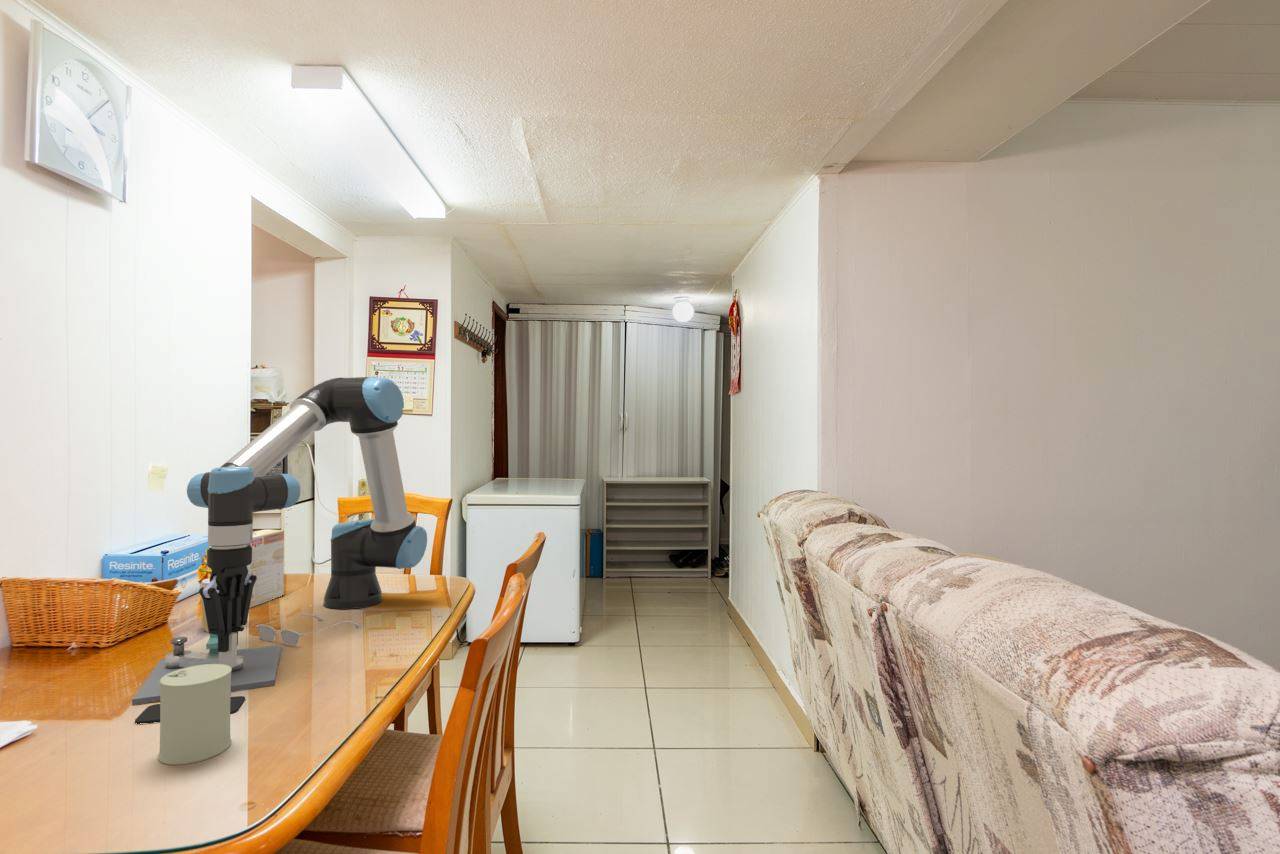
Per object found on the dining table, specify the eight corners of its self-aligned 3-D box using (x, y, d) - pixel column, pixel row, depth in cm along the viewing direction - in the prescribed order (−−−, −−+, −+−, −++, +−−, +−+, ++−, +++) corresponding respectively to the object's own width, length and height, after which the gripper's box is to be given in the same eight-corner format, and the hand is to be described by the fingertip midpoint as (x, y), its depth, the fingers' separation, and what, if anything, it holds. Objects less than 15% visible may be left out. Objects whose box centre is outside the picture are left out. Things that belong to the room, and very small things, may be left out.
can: (182, 737, 105) (183, 661, 105) (243, 735, 105) (243, 659, 105) (143, 766, 95) (144, 683, 95) (210, 764, 96) (211, 681, 96)
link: (159, 666, 132) (160, 641, 132) (178, 659, 136) (179, 635, 136) (232, 672, 129) (232, 647, 129) (249, 665, 133) (249, 640, 133)
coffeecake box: (262, 595, 195) (263, 529, 195) (284, 596, 194) (285, 529, 194) (224, 608, 180) (225, 536, 180) (247, 609, 179) (248, 537, 179)
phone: (236, 711, 113) (132, 722, 108) (236, 716, 113) (131, 727, 108) (247, 695, 120) (149, 704, 116) (246, 699, 120) (149, 709, 115)
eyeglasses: (254, 640, 154) (255, 623, 154) (321, 621, 170) (321, 605, 170) (299, 650, 147) (299, 632, 147) (364, 629, 164) (364, 612, 164)
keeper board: (281, 649, 147) (281, 622, 147) (274, 685, 126) (274, 653, 126) (161, 663, 137) (161, 634, 137) (131, 705, 116) (132, 671, 116)
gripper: (235, 540, 136) (233, 654, 136) (186, 550, 123) (183, 677, 123) (269, 541, 135) (267, 656, 135) (223, 552, 123) (221, 679, 122)
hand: (227, 666), depth 129 cm, fingers closed
